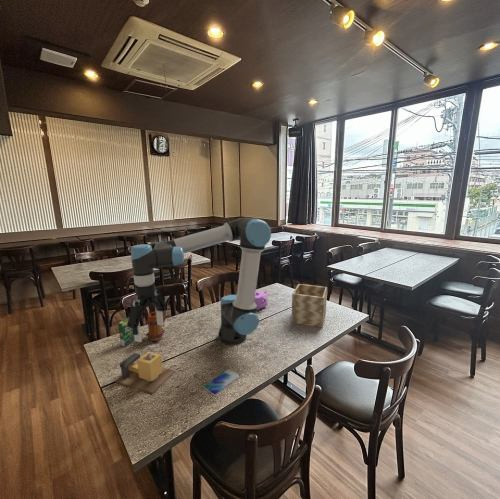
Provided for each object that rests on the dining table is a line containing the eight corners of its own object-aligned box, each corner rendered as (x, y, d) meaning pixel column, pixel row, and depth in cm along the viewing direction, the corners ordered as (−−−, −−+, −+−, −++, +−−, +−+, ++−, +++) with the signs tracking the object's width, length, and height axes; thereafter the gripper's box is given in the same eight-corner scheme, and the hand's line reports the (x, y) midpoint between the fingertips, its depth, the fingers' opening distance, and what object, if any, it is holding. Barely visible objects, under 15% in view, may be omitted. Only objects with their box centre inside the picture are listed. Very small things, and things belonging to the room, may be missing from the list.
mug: (158, 344, 139) (156, 317, 136) (144, 342, 140) (141, 315, 137) (171, 330, 153) (170, 305, 150) (158, 328, 154) (156, 304, 151)
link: (162, 371, 114) (161, 354, 113) (151, 381, 109) (149, 363, 107) (133, 363, 120) (132, 346, 119) (122, 371, 114) (120, 354, 113)
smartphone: (241, 375, 114) (214, 395, 103) (241, 377, 115) (214, 397, 103) (229, 367, 119) (202, 386, 108) (229, 369, 119) (202, 388, 108)
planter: (325, 313, 172) (327, 287, 169) (322, 327, 155) (324, 298, 151) (297, 309, 179) (298, 283, 175) (291, 322, 161) (292, 293, 158)
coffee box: (124, 347, 136) (121, 323, 133) (120, 346, 137) (117, 322, 134) (136, 339, 143) (134, 316, 140) (132, 338, 144) (130, 315, 142)
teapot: (267, 312, 175) (267, 296, 173) (247, 312, 176) (246, 296, 173) (267, 303, 190) (267, 288, 188) (248, 302, 191) (248, 288, 188)
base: (174, 372, 117) (173, 347, 115) (152, 394, 104) (150, 366, 102) (140, 362, 124) (137, 339, 121) (115, 382, 111) (112, 356, 109)
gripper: (157, 273, 120) (161, 318, 124) (112, 293, 97) (119, 347, 101) (171, 275, 117) (175, 320, 122) (128, 296, 94) (135, 350, 99)
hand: (149, 332), depth 112 cm, fingers open, 13 cm apart
